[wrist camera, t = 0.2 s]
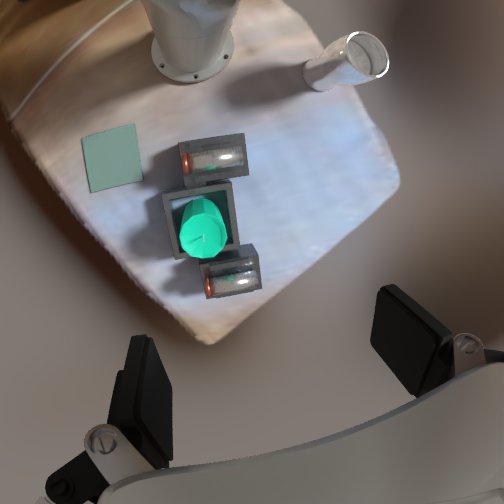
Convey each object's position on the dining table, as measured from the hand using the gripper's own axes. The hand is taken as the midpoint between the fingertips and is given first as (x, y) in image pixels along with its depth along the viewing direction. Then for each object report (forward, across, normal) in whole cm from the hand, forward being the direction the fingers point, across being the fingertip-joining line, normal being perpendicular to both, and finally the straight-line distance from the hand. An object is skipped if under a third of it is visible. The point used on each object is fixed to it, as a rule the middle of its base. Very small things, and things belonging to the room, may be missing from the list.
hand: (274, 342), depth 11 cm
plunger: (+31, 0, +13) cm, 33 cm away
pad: (+36, +15, -8) cm, 40 cm away
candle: (+36, +2, +4) cm, 36 cm away
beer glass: (+36, -19, -18) cm, 45 cm away
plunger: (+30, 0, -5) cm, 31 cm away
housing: (+36, +1, +4) cm, 36 cm away
